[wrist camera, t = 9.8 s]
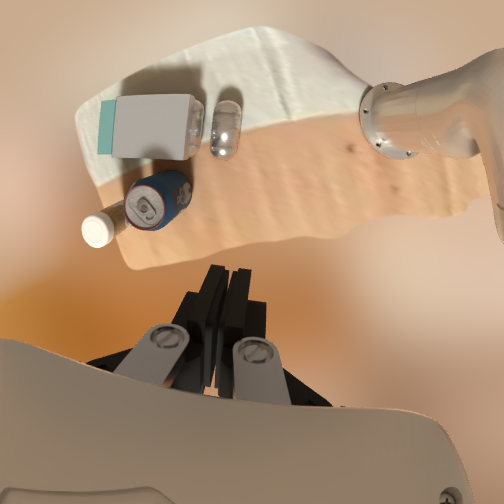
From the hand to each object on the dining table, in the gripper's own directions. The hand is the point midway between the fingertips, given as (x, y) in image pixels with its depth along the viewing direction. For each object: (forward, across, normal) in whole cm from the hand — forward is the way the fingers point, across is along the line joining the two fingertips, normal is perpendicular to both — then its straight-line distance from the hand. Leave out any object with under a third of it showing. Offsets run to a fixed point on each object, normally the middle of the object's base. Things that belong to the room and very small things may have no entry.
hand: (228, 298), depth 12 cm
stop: (+33, +22, -8) cm, 41 cm away
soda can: (+33, +13, +3) cm, 36 cm away
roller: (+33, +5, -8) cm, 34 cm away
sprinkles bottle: (+33, +20, +6) cm, 39 cm away
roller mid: (+33, +11, -7) cm, 35 cm away
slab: (+29, +16, -8) cm, 34 cm away
